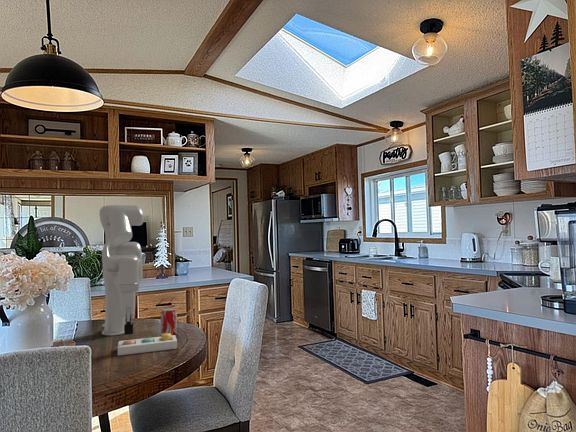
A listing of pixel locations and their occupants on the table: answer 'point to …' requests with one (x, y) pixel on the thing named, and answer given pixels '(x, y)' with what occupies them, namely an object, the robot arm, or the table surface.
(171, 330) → the soda can
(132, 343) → the terracotta button
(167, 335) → the amber button
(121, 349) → the button box
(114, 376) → the table surface
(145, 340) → the teal button
